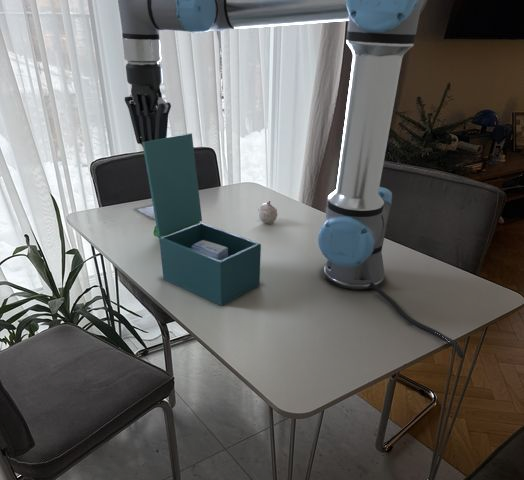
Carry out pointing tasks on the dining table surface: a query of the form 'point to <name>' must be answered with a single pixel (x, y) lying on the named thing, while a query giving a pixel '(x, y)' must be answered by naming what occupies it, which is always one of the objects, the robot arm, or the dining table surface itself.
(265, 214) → the garlic bulb
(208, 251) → the medicine box
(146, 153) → the lunchbox lid
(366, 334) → the dining table surface
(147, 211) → the architectural model
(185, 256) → the box
